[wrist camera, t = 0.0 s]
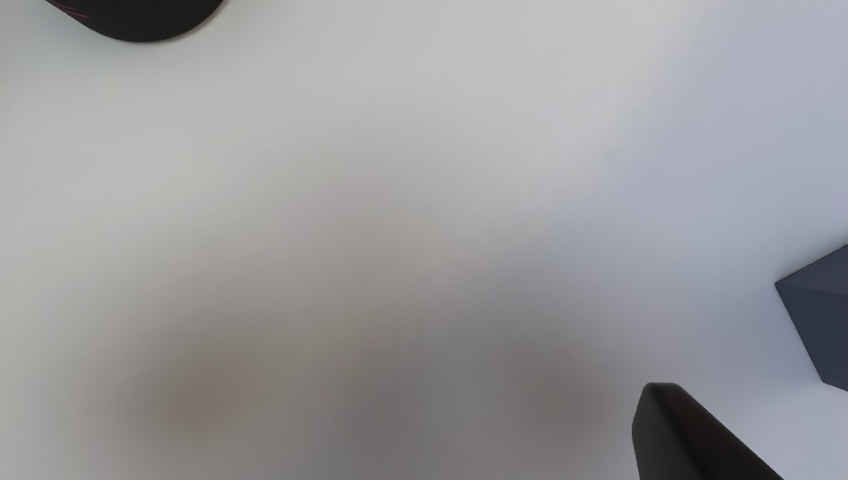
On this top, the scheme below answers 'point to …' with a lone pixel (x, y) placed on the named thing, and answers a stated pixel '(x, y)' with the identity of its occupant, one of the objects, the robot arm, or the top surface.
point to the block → (822, 313)
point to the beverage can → (139, 16)
